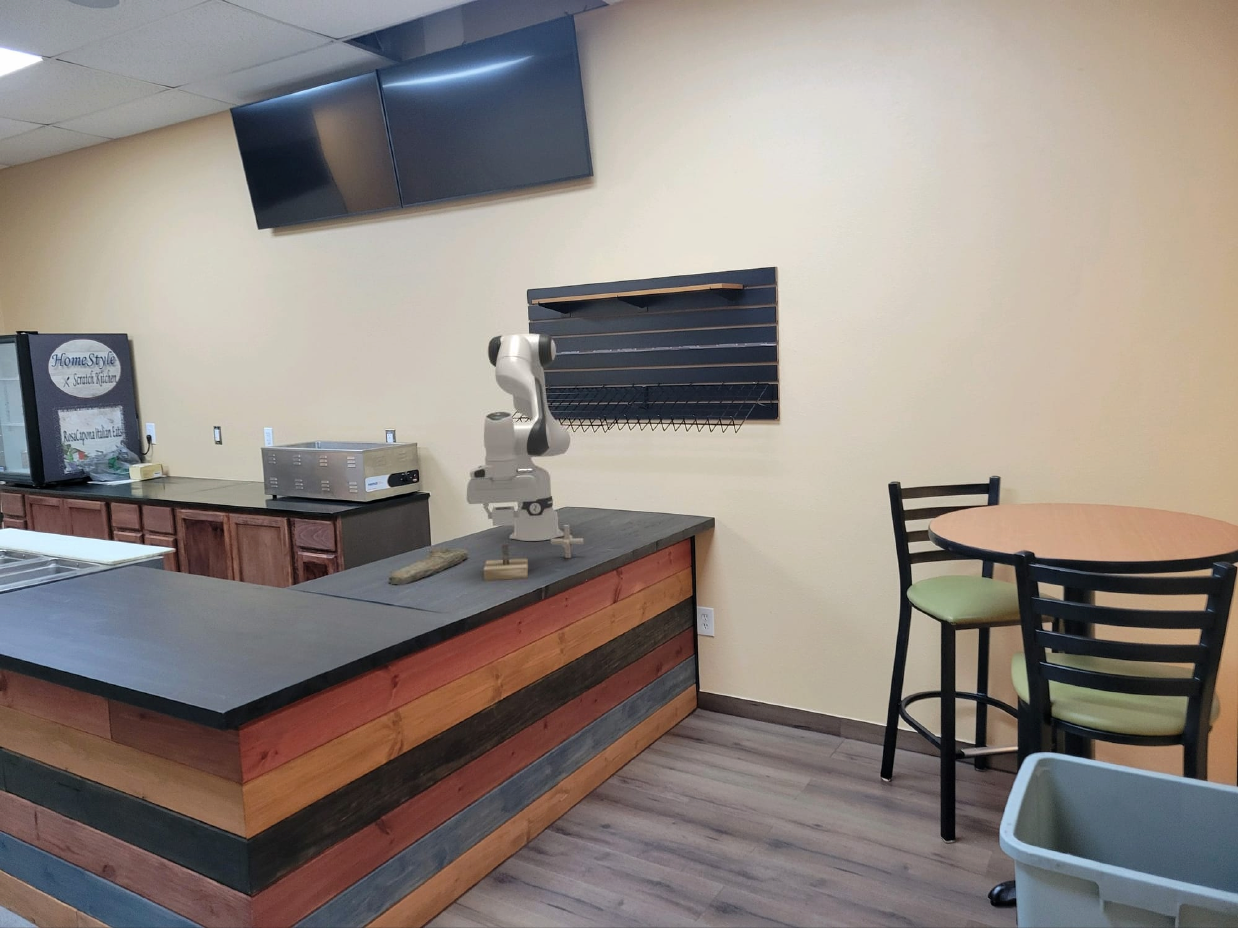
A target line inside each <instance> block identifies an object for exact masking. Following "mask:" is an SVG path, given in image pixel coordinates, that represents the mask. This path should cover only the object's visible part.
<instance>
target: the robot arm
mask: <svg viewBox="0 0 1238 928" xmlns="http://www.w3.org/2000/svg"><path fill="white" fill-rule="evenodd" d="M556 355H557V346H556V344H555V341H554V339H553V337H552V336H551V335H550V334H546V333H540V334H538V333H516V334H509V335H508V334H507V335H498V336H494V337H493V338H491V339H490V340H489V343H488V347H487V357H488V359H489V363H490V364H491V365H492V366H493V367H494V368H495V370H494V371H495V381H496V384H497V385H498V386H499V388H500V389H502V391H504V392H506V393H507V394H509V395H511V396H512V401H513V407H514V409H515V411H516V412H517V413H519V414H520V415H522V416H525V417H527V418H529V421H516V422H514V419H513V415H512V414H511V413H509V412H506V411H497V412H496V411H495V412H492V413H489V414H487V415H486V416H485V419H484V430H483V446H484V448H485V457H484V462H485V464H483V465H480V466H477V467H474V468H472V469H471V470H470V472H469V477H470V479H469V481H468V483H467V486H466V502H467V504H468V505H479V504H480V505H481V504H482V505H483V506H482V507H483V509H484V511H485V512H486V514H487V520H493V519H492V511H490V509H489V506H490V505H489V504H499V503H501V504H503V503H517V510H515V511H514V518H515V524H514V525H513V526H514V532H512V533H511V534H510V535H509V539H510V540H518V541H526V542H533V541H534V542H535V541H536V542H537V541H538V542H539V541H546V540H551V539H557V538H559V537H561V538H562V537H564V531H563V530H561V529H560V528H559V521H558V520H559V519H558V512H557V511H556V510H555V509H554V507H553V506H554V504H553V503H554V500H553V495H552V491H551V489H552V488H551V485H552V484H551V476H550V475H551V474H550V473H549V472H548V470H546V469H544V468H543V467H540V466H538V465H536V464H535V463H534V462H533V460H532V458H537V457H538V458H539V457H540V458H544V457H545V458H547V457H554V456H560V455H564V454H565V453H566V452H567V451H568V450H569V448H570V445H571V435H570V434H569V433H570V432H569V431H568V429H567V428H566V427H565V426H563V425H562V424H561V423H559V422H558V421H557V420H556V419H555V418H554V416H553V415H552V413H551V411H550V409H549V404H548V401H547V400H548V399H547V391H546V379H545V371H544V369H546V368H547V367H549V366H551V365H552V364H553V362H554V361H555V358H556Z"/></svg>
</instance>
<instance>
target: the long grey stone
mask: <svg viewBox="0 0 1238 928" xmlns="http://www.w3.org/2000/svg"><path fill="white" fill-rule="evenodd" d="M468 556H469V553H468V551H467V550H466V549H463V548H452V549H451V548H447V547H442V546H441V547H440V548H436V547H435V546H434V547H433V548H432V547H431V548H430V549H429V551H428V554H427V555H425V556H424V557H423V559H422V560H420V561H417V562H414V563H412V564H410V565H407V566H404V567H402V568H400V569H398V570H396V571H391V574H390V575H389V576H388V581H390V584H391V585H394V584H398V585H397V586H401V585H400V584H404V585H406V584H407V583H408V584H409V583H412V582H415V581H417V580H420V579H423V577H424V578H428V577H429V576H432V575H431V574H433V575H435V574H437V572H438V573H440V572H443V571H444V570H445V569H449V568H452V567H454V566H455V565H458V564H461V563H462V562H463V561H464V560H466V558H467V557H468ZM408 584H407V585H408Z"/></svg>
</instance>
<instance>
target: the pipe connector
mask: <svg viewBox="0 0 1238 928" xmlns="http://www.w3.org/2000/svg"><path fill="white" fill-rule="evenodd" d="M570 527H571V525H570V524H564V525H563V533H564V536H563V538H553V539H550V545H553V546H555V545H559V546H560V545H561V546H562V548H564V559H570V558H572V555H571V553H572V551H571V545H584V544H585V543H584V542H585V540H584V538H582V537H581V538H574V537H573V535H571V529H570Z"/></svg>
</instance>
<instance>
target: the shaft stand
mask: <svg viewBox="0 0 1238 928" xmlns="http://www.w3.org/2000/svg"><path fill="white" fill-rule="evenodd" d="M501 550H502V551H501V552H502V558H501V559H499V558H497V559H486V561H485V564H484V567H483V580H484V581H497V580H499V579H500V580H512V579H513V580H516V579H528V573H529V561H528V557H520V558H510V554H509V552H510V551H509V550H510V549H509V544H507V543H506V544H502V545H501Z"/></svg>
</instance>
